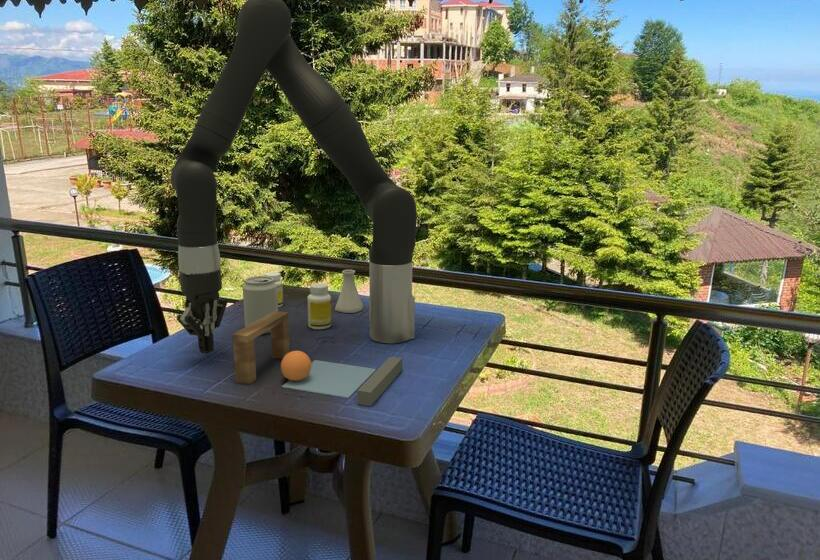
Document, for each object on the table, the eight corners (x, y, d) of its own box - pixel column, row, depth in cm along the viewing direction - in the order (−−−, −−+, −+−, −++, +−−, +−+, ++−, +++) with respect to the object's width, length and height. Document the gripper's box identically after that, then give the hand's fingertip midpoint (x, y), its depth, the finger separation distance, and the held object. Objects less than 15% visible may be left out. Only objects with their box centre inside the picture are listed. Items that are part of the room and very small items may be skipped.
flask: (329, 311, 151) (328, 272, 148) (342, 303, 158) (342, 266, 155) (355, 315, 149) (355, 275, 146) (368, 307, 155) (367, 269, 153)
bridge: (235, 381, 110) (232, 334, 108) (276, 353, 124) (274, 310, 121) (250, 384, 109) (247, 336, 107) (290, 355, 123) (288, 312, 120)
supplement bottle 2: (335, 327, 140) (335, 286, 137) (314, 331, 137) (313, 289, 134) (325, 320, 144) (324, 281, 142) (304, 324, 141) (302, 284, 139)
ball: (297, 347, 114) (316, 370, 114) (274, 366, 112) (292, 389, 112) (299, 342, 109) (318, 365, 109) (274, 361, 107) (294, 385, 107)
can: (270, 336, 133) (268, 283, 130) (239, 333, 135) (235, 281, 132) (284, 325, 141) (282, 275, 137) (254, 323, 142) (251, 273, 139)
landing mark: (281, 387, 108) (281, 386, 108) (315, 360, 120) (315, 360, 120) (348, 398, 104) (348, 397, 104) (376, 370, 116) (376, 369, 116)
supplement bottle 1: (261, 304, 156) (259, 273, 154) (278, 301, 159) (276, 270, 157) (269, 309, 152) (267, 276, 150) (286, 306, 155) (285, 274, 153)
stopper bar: (357, 404, 102) (357, 390, 102) (390, 368, 117) (390, 356, 116) (370, 406, 102) (370, 392, 101) (402, 370, 116) (402, 358, 116)
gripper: (205, 258, 123) (211, 338, 127) (159, 273, 111) (168, 361, 115) (237, 261, 121) (242, 343, 125) (194, 277, 108) (201, 367, 113)
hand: (206, 352), depth 120 cm, fingers closed
